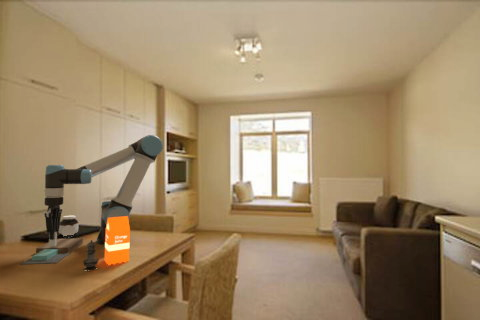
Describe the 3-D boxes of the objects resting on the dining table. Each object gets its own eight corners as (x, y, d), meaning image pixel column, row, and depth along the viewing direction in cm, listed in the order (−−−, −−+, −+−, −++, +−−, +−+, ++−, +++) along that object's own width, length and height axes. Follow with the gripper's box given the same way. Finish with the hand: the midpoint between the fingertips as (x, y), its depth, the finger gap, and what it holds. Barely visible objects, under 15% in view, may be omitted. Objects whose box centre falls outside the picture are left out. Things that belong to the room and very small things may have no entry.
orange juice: (104, 260, 125) (105, 216, 125) (124, 257, 130) (126, 214, 131) (108, 265, 118) (109, 219, 119) (129, 261, 124) (130, 217, 124)
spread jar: (71, 232, 176) (72, 214, 176) (84, 234, 171) (84, 216, 172) (52, 236, 165) (53, 217, 165) (65, 239, 160) (66, 219, 161)
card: (58, 253, 132) (58, 249, 132) (47, 260, 123) (47, 255, 123) (44, 253, 131) (44, 249, 131) (32, 260, 122) (32, 256, 122)
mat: (70, 253, 134) (70, 252, 134) (56, 263, 120) (56, 262, 120) (38, 254, 131) (38, 253, 131) (20, 264, 117) (20, 263, 117)
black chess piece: (87, 272, 110) (88, 242, 110) (79, 269, 113) (80, 240, 113) (101, 268, 115) (102, 239, 115) (93, 265, 118) (94, 237, 118)
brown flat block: (82, 243, 151) (82, 238, 151) (67, 253, 133) (68, 247, 134) (54, 244, 149) (54, 238, 149) (36, 254, 131) (36, 248, 131)
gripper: (52, 195, 138) (50, 242, 137) (38, 198, 125) (36, 250, 125) (68, 195, 140) (67, 241, 139) (56, 198, 127) (54, 249, 126)
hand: (52, 245), depth 132 cm, fingers closed
